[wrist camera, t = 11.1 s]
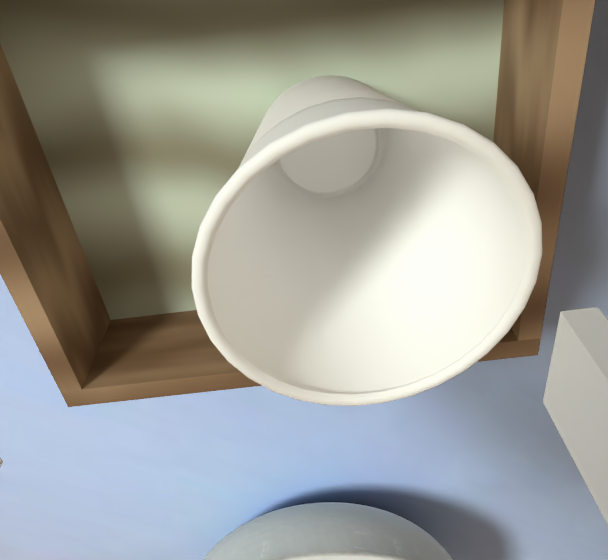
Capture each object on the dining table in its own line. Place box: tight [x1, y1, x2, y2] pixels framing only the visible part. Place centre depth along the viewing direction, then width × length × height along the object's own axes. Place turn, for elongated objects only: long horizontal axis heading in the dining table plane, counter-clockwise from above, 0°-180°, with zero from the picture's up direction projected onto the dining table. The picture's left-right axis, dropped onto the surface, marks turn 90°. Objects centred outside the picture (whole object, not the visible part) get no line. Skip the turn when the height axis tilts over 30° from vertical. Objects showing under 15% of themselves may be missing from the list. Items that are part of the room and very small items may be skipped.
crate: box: [0, 0, 595, 407], centre depth 23 cm, size 18×22×6 cm
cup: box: [192, 75, 542, 406], centre depth 20 cm, size 10×10×11 cm
